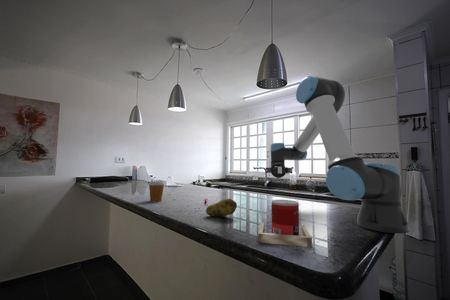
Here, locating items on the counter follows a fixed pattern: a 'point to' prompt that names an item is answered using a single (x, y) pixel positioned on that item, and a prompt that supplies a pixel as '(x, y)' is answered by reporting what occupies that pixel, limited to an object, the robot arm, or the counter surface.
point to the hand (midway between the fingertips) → (280, 170)
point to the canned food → (285, 217)
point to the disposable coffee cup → (156, 190)
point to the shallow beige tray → (285, 237)
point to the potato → (222, 208)
